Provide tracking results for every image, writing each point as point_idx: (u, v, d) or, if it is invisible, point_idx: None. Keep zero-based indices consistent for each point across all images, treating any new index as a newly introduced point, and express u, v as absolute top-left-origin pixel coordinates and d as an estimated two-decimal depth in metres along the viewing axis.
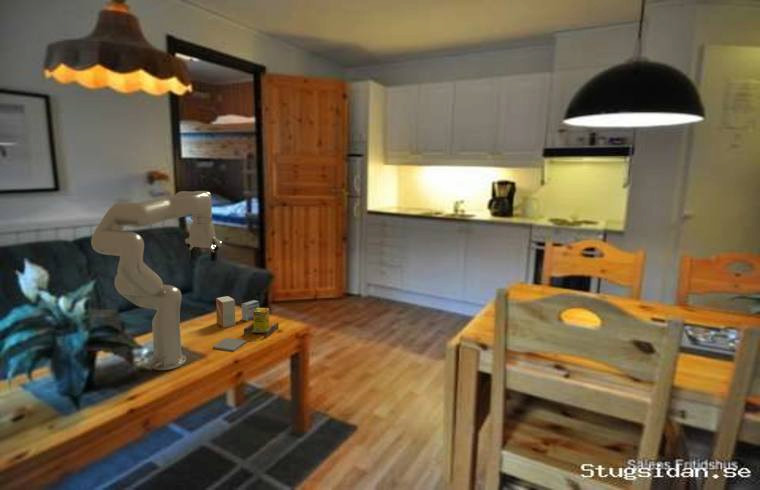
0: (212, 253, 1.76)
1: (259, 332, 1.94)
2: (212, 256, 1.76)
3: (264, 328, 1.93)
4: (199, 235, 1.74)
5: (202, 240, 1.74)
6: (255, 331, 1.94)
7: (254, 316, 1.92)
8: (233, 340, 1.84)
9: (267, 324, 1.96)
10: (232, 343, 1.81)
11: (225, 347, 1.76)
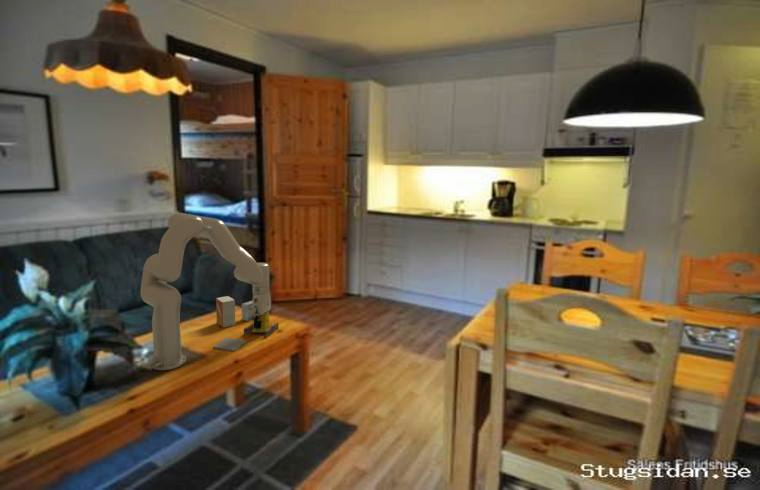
0: None
1: (259, 332, 1.94)
2: None
3: (264, 328, 1.93)
4: (266, 302, 1.94)
5: (268, 305, 1.96)
6: (255, 331, 1.94)
7: None
8: (233, 340, 1.84)
9: (267, 324, 1.96)
10: (232, 343, 1.81)
11: (225, 347, 1.76)
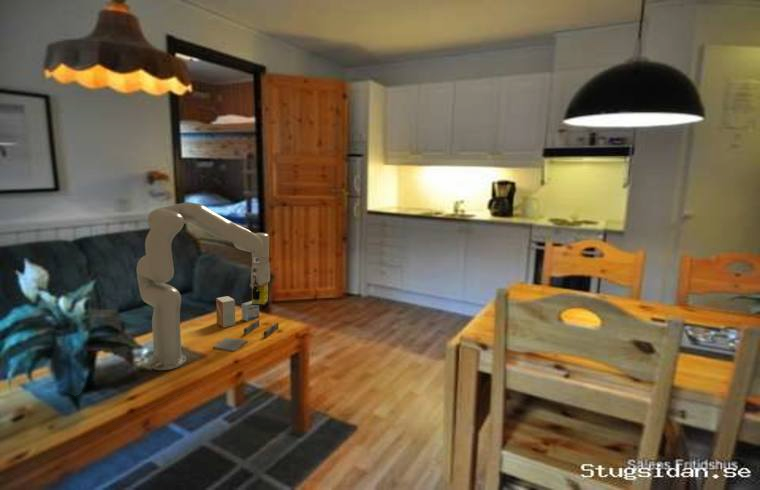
0: None
1: (257, 303, 1.91)
2: None
3: (263, 299, 1.90)
4: (266, 273, 1.91)
5: (267, 276, 1.93)
6: (253, 302, 1.91)
7: None
8: (233, 340, 1.84)
9: (266, 296, 1.93)
10: (232, 343, 1.81)
11: (225, 347, 1.76)
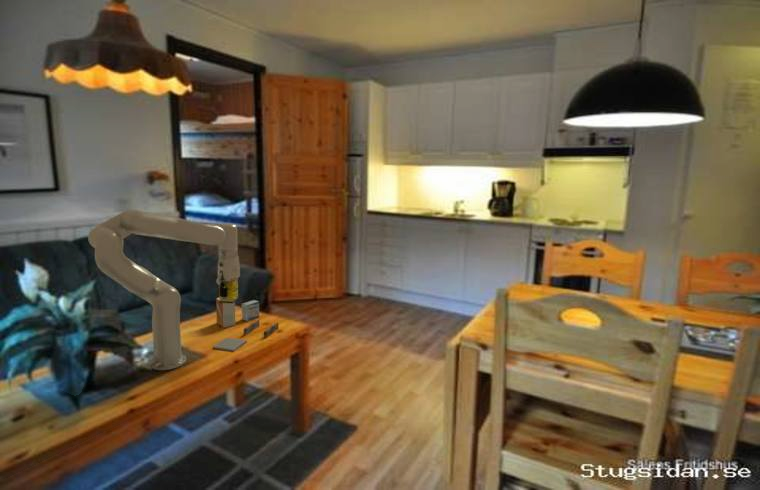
0: None
1: (226, 301, 1.74)
2: None
3: (231, 296, 1.74)
4: (234, 267, 1.74)
5: (236, 271, 1.76)
6: (221, 300, 1.74)
7: None
8: (233, 340, 1.84)
9: (235, 293, 1.76)
10: (232, 343, 1.81)
11: (225, 347, 1.76)
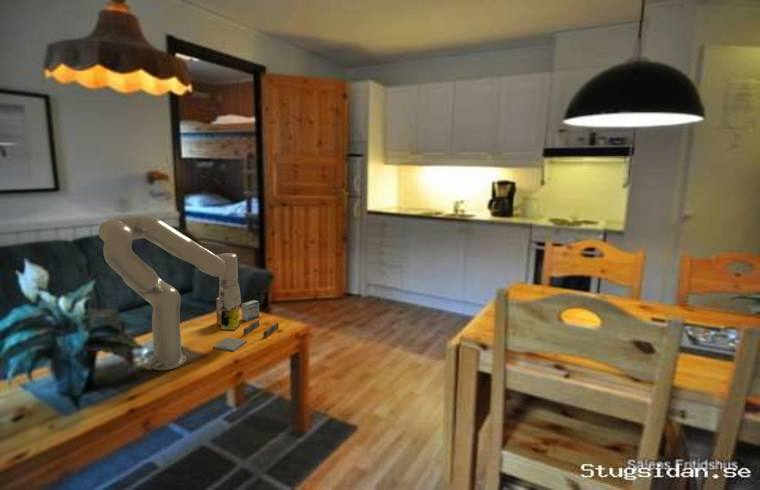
0: None
1: (227, 329, 1.76)
2: None
3: (233, 325, 1.76)
4: (235, 296, 1.76)
5: (237, 299, 1.78)
6: (223, 328, 1.76)
7: None
8: (233, 340, 1.84)
9: (236, 320, 1.79)
10: (232, 343, 1.81)
11: (225, 347, 1.76)
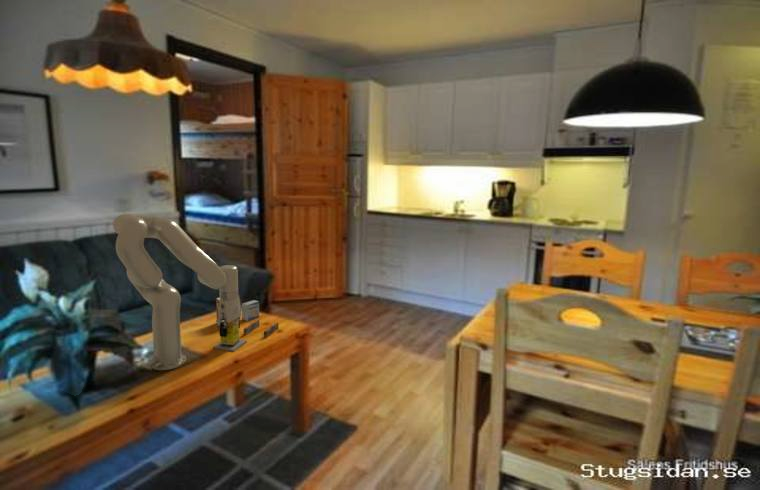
0: None
1: (227, 344, 1.77)
2: None
3: (232, 340, 1.77)
4: (235, 308, 1.77)
5: (237, 311, 1.79)
6: (222, 343, 1.78)
7: None
8: None
9: (236, 335, 1.80)
10: None
11: (225, 347, 1.76)
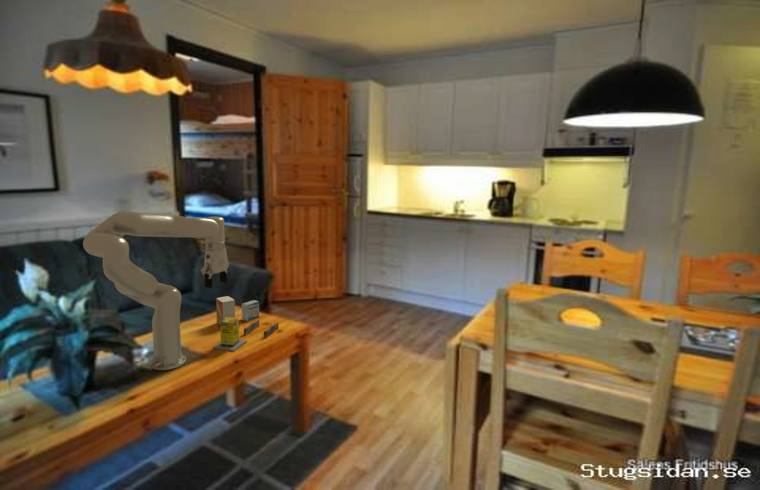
0: None
1: (227, 344, 1.77)
2: None
3: (232, 340, 1.77)
4: (221, 260, 1.76)
5: (223, 264, 1.78)
6: (222, 343, 1.78)
7: (221, 327, 1.76)
8: None
9: (236, 335, 1.80)
10: None
11: (225, 347, 1.76)
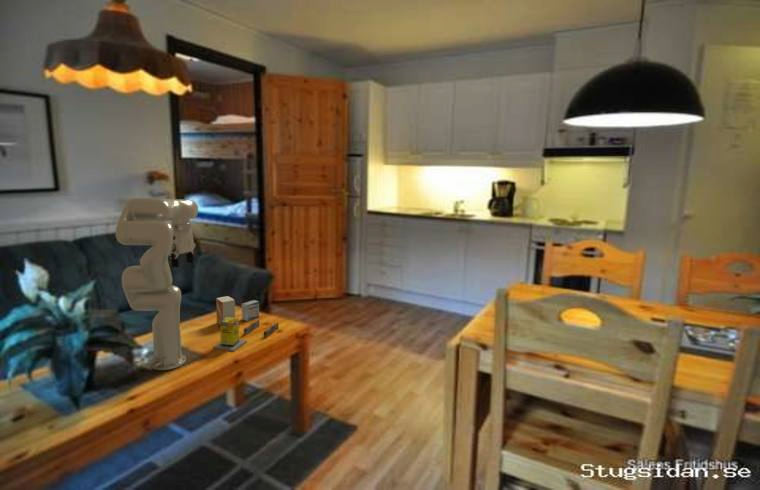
0: None
1: (227, 344, 1.77)
2: None
3: (232, 340, 1.77)
4: (187, 241, 1.84)
5: (189, 245, 1.86)
6: (222, 343, 1.78)
7: (221, 327, 1.76)
8: None
9: (236, 335, 1.80)
10: None
11: (225, 347, 1.76)
